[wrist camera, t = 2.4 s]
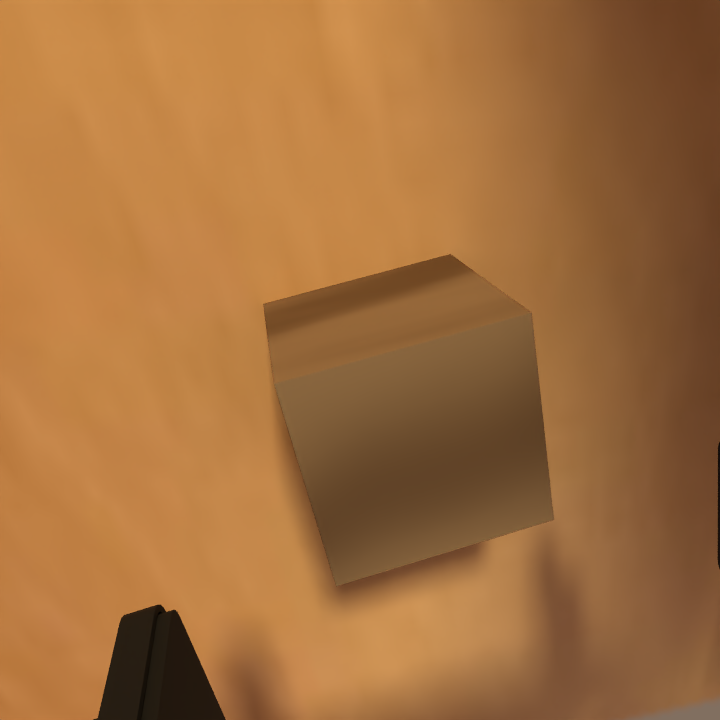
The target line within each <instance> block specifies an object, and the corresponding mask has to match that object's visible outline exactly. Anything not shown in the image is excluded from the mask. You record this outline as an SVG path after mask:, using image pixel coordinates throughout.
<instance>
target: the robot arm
mask: <svg viewBox="0 0 720 720" xmlns="http://www.w3.org/2000/svg"><path fill="white" fill-rule="evenodd" d="M718 565H719V568H720V442H719V445H718ZM94 720H226V719H225V717H224V715H223V712H222V710H221V708H220V706H219V704H218V701H217V699H216V697H215V695H214V692H213V690H212V688H211V686H210V683H209V681H208V679H207V677H206V674H205V672H204V670H203V668H202V665H201V663H200V661H199V659H198V656H197V654H196V652H195V650H194V647H193V645H192V643H191V641H190V638H189V636H188V634H187V632H186V629H185V627H184V625H183V623H182V620H181V618H180V616H179V614H178V612H177V611H176V610H172V611H168V612H166V611H165V609H164V607H162V606H161V605H155V606H152V607H149V608H146V609H142V610H139V611H136V612H133V613H130V614H126V615H124V616H123V617H122V618H121V621H120V624H119V628H118V633H117V637H116V641H115V646H114V650H113V654H112V659H111V663H110V667H109V672H108V676H107V680H106V685H105V689H104V694H103V698H102V702H101V707H100V711H99V715H98V718H97V719H94Z"/></svg>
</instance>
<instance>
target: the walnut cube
mask: <svg viewBox="0 0 720 720" xmlns="http://www.w3.org/2000/svg"><path fill="white" fill-rule="evenodd" d="M263 305H264V312H265V320H266V327H267V335H268V342H269V350H270V357H271V365H272V372H273V379H274V385H275V389H276V392H277V395H278V398H279V402H280V405H281V408H282V411H283V415H284V418H285V421H286V424H287V428H288V431H289V434H290V437H291V441H292V444H293V447H294V450H295V454H296V457H297V460H298V463H299V467H300V470H301V473H302V476H303V480H304V483H305V486H306V489H307V493H308V496H309V499H310V502H311V506H312V509H313V512H314V515H315V519H316V522H317V525H318V528H319V532H320V535H321V538H322V541H323V545H324V548H325V551H326V554H327V558H328V561H329V564H330V567H331V571H332V574H333V577H334V580H335V584H336V586H339V585H343V584H346V583H349V582H353V581H356V580H359V579H362V578H366V577H369V576H372V575H375V574H379V573H382V572H385V571H388V570H392V569H395V568H398V567H402V566H405V565H408V564H411V563H415V562H418V561H421V560H424V559H428V558H431V557H434V556H437V555H441V554H444V553H447V552H451V551H454V550H457V549H460V548H464V547H467V546H470V545H473V544H477V543H480V542H483V541H486V540H490V539H493V538H496V537H500V536H503V535H506V534H509V533H513V532H516V531H519V530H522V529H526V528H529V527H532V526H535V525H539V524H542V523H545V522H549V521H552V520H554V517H553V507H552V498H551V489H550V479H549V470H548V461H547V451H546V442H545V433H544V424H543V414H542V405H541V396H540V386H539V377H538V368H537V358H536V349H535V340H534V330H533V321H532V313H531V312H530V311H529V310H527V309H526V308H524V307H523V306H522V305H520V304H519V303H517V302H516V301H515V300H513V299H512V298H511V297H509V296H508V295H506V294H505V293H504V292H502V291H501V290H499V289H498V288H497V287H495V286H494V285H492V284H491V283H490V282H488V281H487V280H485V279H484V278H483V277H481V276H480V275H479V274H477V273H476V272H474V271H473V270H472V269H470V268H469V267H467V266H466V265H465V264H463V263H462V262H460V261H459V260H458V259H456V258H455V257H453V256H452V255H451V254H449V255H446V256H442V257H438V258H434V259H430V260H427V261H423V262H419V263H415V264H412V265H408V266H404V267H400V268H397V269H393V270H389V271H385V272H382V273H378V274H374V275H370V276H367V277H363V278H359V279H355V280H352V281H348V282H344V283H340V284H337V285H333V286H329V287H325V288H322V289H318V290H314V291H310V292H307V293H303V294H299V295H295V296H291V297H288V298H284V299H280V300H276V301H273V302H269V303H265V304H263Z"/></svg>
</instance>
